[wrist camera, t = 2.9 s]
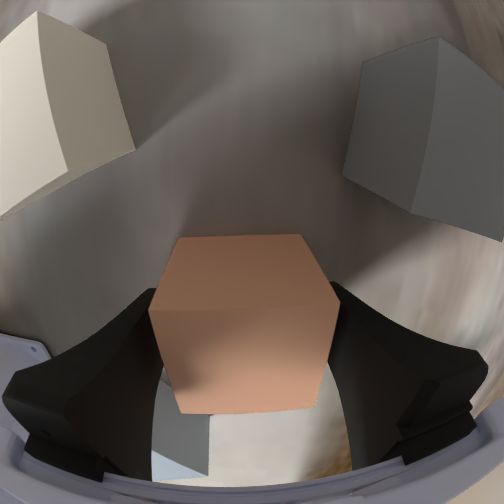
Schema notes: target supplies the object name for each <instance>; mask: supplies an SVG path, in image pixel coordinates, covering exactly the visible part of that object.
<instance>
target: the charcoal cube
mask: <svg viewBox="0 0 504 504" xmlns="http://www.w3.org/2000/svg"><path fill="white" fill-rule="evenodd" d="M341 176H343V177H345V178H347V179H349V180H351V181H353V182H355V183H357V184H358V185H360V186H362V187H364V188H366V189H368V190H370V191H372V192H374V193H375V194H377V195H379V196H381V197H383V198H384V199H386V200H388V201H390V202H392V203H393V204H395V205H397V206H399V207H400V208H402V209H404V210H405V211H407V212H409V213H411V214H415V215H418V216H422V217H425V218H429V219H432V220H436V221H439V222H442V223H446V224H449V225H452V226H455V227H459V228H462V229H465V230H468V231H471V232H474V233H477V234H480V235H483V236H486V237H488V238H491V239H494V240H497V241H500V242H502V240H503V237H504V88H503V87H502V86H501V85H500V84H499V83H498V82H497V81H495V80H494V79H493V78H492V77H491V76H490V75H489V74H488V73H486V72H485V71H484V70H483V69H482V68H481V67H479V66H478V65H477V64H476V63H475V62H473V61H472V60H471V59H469V58H468V57H467V56H466V55H464V54H463V53H462V52H460V51H459V50H458V49H456V48H455V47H453V46H452V45H451V44H449V43H448V42H446V41H445V40H443V39H442V38H440V37H435V38H432V39H428V40H425V41H422V42H418V43H415V44H412V45H409V46H406V47H403V48H400V49H397V50H395V51H392V52H389V53H386V54H384V55H381V56H378V57H376V58H373V59H371V60H368V61H366V62H363V64H362V71H361V77H360V84H359V90H358V96H357V102H356V107H355V113H354V118H353V124H352V129H351V134H350V139H349V144H348V148H347V153H346V158H345V162H344V167H343V171H342V175H341Z"/></svg>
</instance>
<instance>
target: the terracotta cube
mask: <svg viewBox="0 0 504 504" xmlns="http://www.w3.org/2000/svg"><path fill="white" fill-rule="evenodd" d="M339 307H340V301H339V299H338V297H337V296H336V294H335V292H334V290H333V289H332V287H331V285H330V283H329V281H328V280H327V278H326V276H325V274H324V273H323V271H322V269H321V268H320V266H319V264H318V262H317V261H316V259H315V257H314V256H313V254H312V252H311V251H310V249H309V247H308V245H307V244H306V242H305V240H304V239H303V237H302V236H301V234H267V235H233V236H205V237H179V238H178V241H177V243H176V245H175V247H174V250H173V252H172V254H171V256H170V259H169V261H168V263H167V265H166V268H165V270H164V272H163V275H162V277H161V280H160V282H159V284H158V287H157V289H156V292H155V294H154V297H153V299H152V301H151V304H150V307H149V309H148V312H149V316H150V319H151V323H152V327H153V330H154V334H155V337H156V341H157V344H158V347H159V351H160V354H161V357H162V360H163V363H164V366H165V370H166V373H167V375H168V378H169V381H170V384H171V387H172V390H173V393H174V395H175V398H176V401H177V403H178V406H179V409H180V411H181V413H185V414H245V413H263V412H275V411H286V410H295V409H303V408H310V407H314V406H315V403H316V400H317V396H318V393H319V389H320V386H321V382H322V379H323V375H324V371H325V367H326V364H327V360H328V356H329V352H330V348H331V343H332V339H333V335H334V330H335V326H336V321H337V316H338V312H339Z"/></svg>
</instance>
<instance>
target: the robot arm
mask: <svg viewBox="0 0 504 504" xmlns="http://www.w3.org/2000/svg"><path fill="white" fill-rule="evenodd" d="M329 283H330V285H331V287H332V289H333V290H334V292H335V294H336V296H337V297H338V299H339V301H340V307H339V312H338V316H337V321H336V326H335V330H334V335H333V339H332V343H331V348H330V352H329V356H328V360H327V362H328V364H329V367H330V369H331V372H332V374H333V377H334V379H335V382H336V385H337V388H338V391H339V395H340V399H341V403H342V407H343V412H344V416H345V421H346V426H347V432H348V438H349V444H350V452H351V460H352V471H351V472H347V473H343V474H338V475H334V476H329V477H324V478H319V479H314V480H308V481H301V482H294V483H287V484H278V485H267V486H252V487H200V486H185V485H175V484H166V483H158V482H152V459H151V457H152V429H153V416H154V407H155V399H156V393H157V389H158V385H159V381H160V377H161V373H162V369H163V366H164V363H163V360H162V357H161V354H160V351H159V347H158V344H157V341H156V337H155V334H154V330H153V327H152V323H151V319H150V316H149V312H148V309H149V307H150V304H151V301H152V299H153V297H154V294H155V292H156V289H157V288H148V289H147V290H146V291H145V292H143V293H142V294H141V295H140V296H139V297H138V298H137V299H136V300H134V301H133V302H132V303H131V304H130V305H129V306H128V307H127V308H126V309H124V310H123V311H122V312H121V313H120V314H119V315H118V316H116V317H115V318H114V319H113V320H112V321H110V322H109V323H108V324H107V325H106V326H104V327H103V328H102V329H100V330H99V331H98V332H96V333H95V334H94V335H92V336H91V337H89V338H88V339H86V340H85V341H83V342H82V343H80V344H78V345H76V346H75V347H73V348H71V349H69V350H67V351H66V352H64V353H62V354H60V355H58V356H56V357H54V358H51V357H50V355H49V353H48V351H47V349H46V348H45V346H44V345H43V344H42V343H41V342H38V341H33V340H28V339H23V338H18V337H14V336H9V335H5V334H1V333H0V504H445V503H446V502H448V501H450V500H451V499H453V498H455V497H456V496H458V495H459V494H461V493H462V492H464V491H465V490H467V489H468V488H470V487H471V486H473V485H474V484H475V483H477V482H478V481H479V480H481V479H482V478H484V477H485V476H486V475H487V474H489V473H490V472H491V471H492V470H494V469H495V468H496V467H497V466H499V465H500V464H501V463H502V462H503V461H504V397H501V398H500V399H498V400H497V401H495V402H494V403H492V404H490V405H489V406H487V407H486V408H485V409H484V410H483V411H481V412H480V413H479V415H478V416H477V417H476V418H475V419H473V417H472V415H471V414H470V412H469V411H471V410H472V408H473V406H472V404H471V403H470V401H469V400H470V399H471V398H472V397H473V395H474V394H475V393H476V391H477V390H478V389H479V387H480V386H481V385H482V383H483V381H484V380H485V378H486V376H487V374H488V367H489V366H488V365H487V363H486V362H485V361H484V359H483V358H482V357H481V355H480V354H479V353H478V352H477V351H476V350H471V349H466V348H462V347H457V346H453V345H449V344H446V343H442V342H439V341H436V340H433V339H430V338H428V337H425V336H423V335H420V334H418V333H416V332H413V331H411V330H409V329H407V328H405V327H403V326H401V325H399V324H397V323H395V322H394V321H392V320H390V319H388V318H387V317H385V316H384V315H382V314H380V313H379V312H377V311H376V310H374V309H373V308H371V307H370V306H368V305H367V304H365V303H364V302H363V301H361V300H360V299H358V298H357V297H356V296H354V295H353V294H352V293H350V292H349V291H348V290H346V289H345V288H343V287H342V286H341V285H339V284H338V283H336V282H329ZM351 493H352V494H351Z"/></svg>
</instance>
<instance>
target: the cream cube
mask: <svg viewBox="0 0 504 504" xmlns="http://www.w3.org/2000/svg"><path fill="white" fill-rule="evenodd" d="M135 150H136V149H135V145H134V142H133V139H132V136H131V133H130V130H129V127H128V123H127V120H126V117H125V114H124V110H123V107H122V103H121V100H120V96H119V93H118V89H117V85H116V82H115V78H114V74H113V70H112V66H111V62H110V58H109V54H108V50H107V45H106V44H105V43H103V42H101V41H99V40H97V39H95V38H94V37H92V36H90V35H88V34H86V33H84V32H82V31H80V30H78V29H76V28H74V27H72V26H70V25H68V24H66V23H64V22H62V21H60V20H57V19H55V18H53V17H51V16H49V15H46V14H44V13H42V12H39V11H36V12H35V13H33V14H32V15H31V16H30V17H28V18H27V19H26V20H25V21H24V22H22V23H21V24H20V25H19V26H18V27H17V28H16V29H14V30H13V31H12V32H11V33H10V34H9V35H8V36H7V37H6V38H5V39H4V40H3V41H2V42H1V43H0V221H1V220H3V219H4V218H6V217H8V216H10V215H11V214H13V213H15V212H17V211H18V210H20V209H22V208H24V207H26V206H27V205H29V204H31V203H33V202H35V201H37V200H39V199H41V198H43V197H45V196H47V195H49V194H50V193H52V192H54V191H55V190H57V189H59V188H60V187H62V186H64V185H66V184H68V183H69V182H71V181H73V180H75V179H77V178H79V177H80V176H82V175H84V174H86V173H88V172H90V171H92V170H94V169H96V168H98V167H100V166H102V165H104V164H106V163H108V162H110V161H113V160H115V159H117V158H119V157H121V156H123V155H126V154H128V153H130V152H132V151H135Z"/></svg>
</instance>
